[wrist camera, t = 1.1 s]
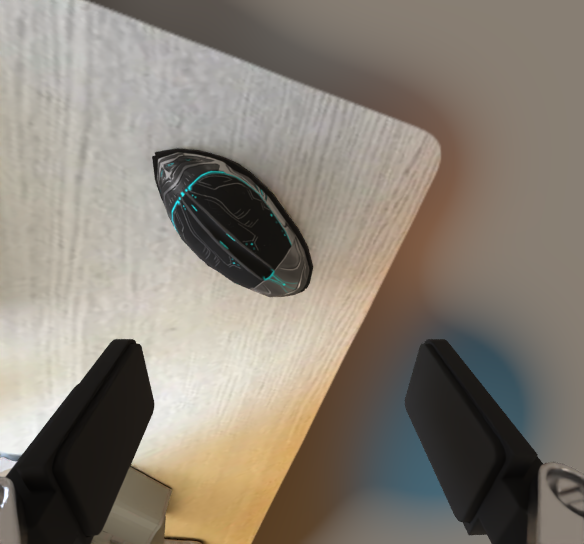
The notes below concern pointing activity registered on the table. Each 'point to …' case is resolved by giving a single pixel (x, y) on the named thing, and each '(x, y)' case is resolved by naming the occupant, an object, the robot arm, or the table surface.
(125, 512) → the digital clock
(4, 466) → the molding piece
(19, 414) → the table surface
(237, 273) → the computer mouse
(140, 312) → the table surface
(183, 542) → the handheld gaming console
